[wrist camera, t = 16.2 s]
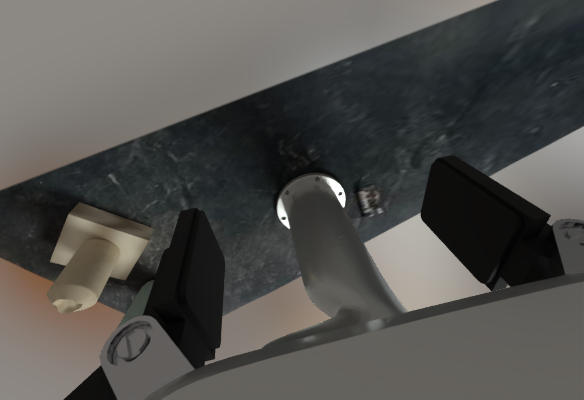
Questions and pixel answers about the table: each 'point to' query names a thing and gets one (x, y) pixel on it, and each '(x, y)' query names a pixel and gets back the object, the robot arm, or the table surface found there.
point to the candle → (84, 276)
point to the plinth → (102, 237)
